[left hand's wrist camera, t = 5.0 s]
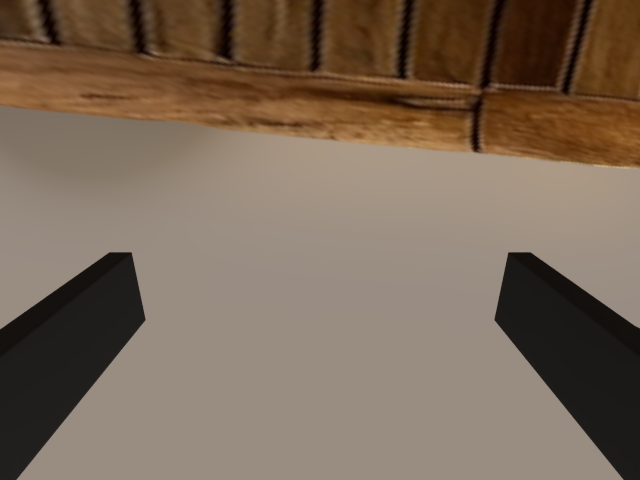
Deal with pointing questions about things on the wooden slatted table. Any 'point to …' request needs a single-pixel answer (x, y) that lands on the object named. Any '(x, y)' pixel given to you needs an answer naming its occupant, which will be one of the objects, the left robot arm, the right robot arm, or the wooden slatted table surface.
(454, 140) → the wooden slatted table surface
